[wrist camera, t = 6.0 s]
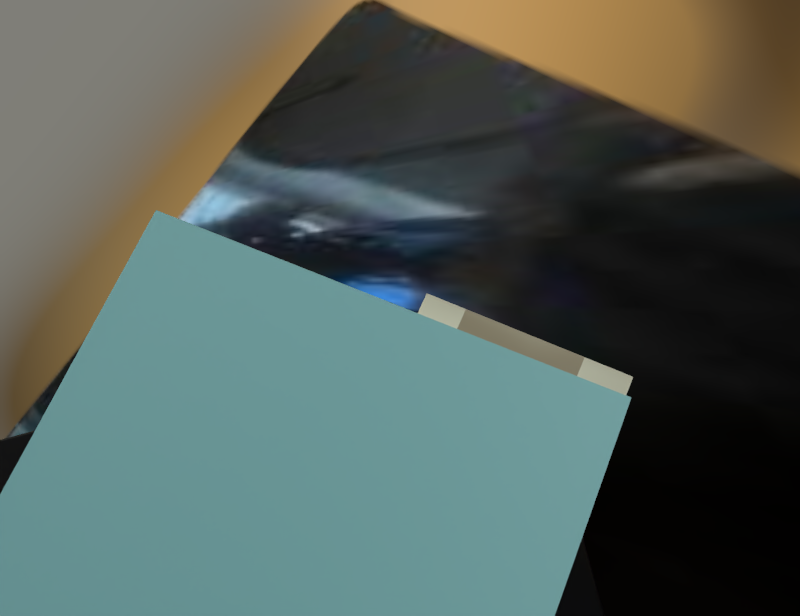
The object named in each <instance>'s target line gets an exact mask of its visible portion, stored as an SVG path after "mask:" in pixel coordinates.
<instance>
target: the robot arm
mask: <svg viewBox="0 0 800 616" xmlns="http://www.w3.org/2000/svg"><path fill="white" fill-rule="evenodd" d="M34 432H35V431H32V432H29V433H25V434H21V435H17V436H14V437H10V438H6V439H2V440H0V494H1V492H2V490H3V488H4V486H5V485H6V483H7V481H8V479H9V477H10V475H11V474H12V472H13V470H14V468H15V466H16V465H17V463H18V461H19V459H20V457H21V455H22V454H23V452H24V450H25V448H26V446H27V444H28V443H29V441H30V439H31V437H32V435H33V434H34ZM555 616H605V613H604V609H603V606H602V602H601V599H600V595H599V592H598V588H597V585H596V581H595V578H594V574H593V571H592V567H591V563H590V560H589V556H588V553H587V549H586V546H585V542H584V539H583V537H582V540H581V542H580V545H579V548H578V551H577V554H576V557H575V560H574V562H573V565H572V568H571V571H570V574H569V577H568V579H567V582H566V585H565V588H564V591H563V594H562V597H561V599H560V602H559V605H558V608H557V611H556V614H555Z"/></svg>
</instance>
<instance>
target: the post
mask: <svg viewBox="0 0 800 616" xmlns="http://www.w3.org/2000/svg"><path fill="white" fill-rule="evenodd" d="M630 400H631V397H629V396H626V395H623V394H621V393H618V392H616V391H613V390H611V389H608V388H606V387H603V386H601V385H598V384H596V383H593V382H590V381H588V380H585V379H583V378H580V377H578V376H575V375H573V374H570V373H568V372H565V371H563V370H560V369H558V368H555V367H552V366H550V365H547V364H545V363H542V362H540V361H537V360H535V359H532V358H530V357H527V356H525V355H522V354H519V353H517V352H514V351H512V350H509V349H507V348H504V347H502V346H499V345H497V344H494V343H492V342H489V341H486V340H484V339H481V338H479V337H476V336H474V335H471V334H469V333H466V332H464V331H461V330H459V329H456V328H454V327H451V326H448V325H446V324H443V323H441V322H438V321H436V320H433V319H431V318H428V317H426V316H423V315H421V314H418V313H415V312H413V311H410V310H408V309H405V308H403V307H400V306H398V305H395V304H393V303H390V302H388V301H385V300H382V299H380V298H377V297H375V296H372V295H370V294H367V293H365V292H362V291H360V290H357V289H355V288H352V287H349V286H347V285H344V284H342V283H339V282H337V281H334V280H332V279H329V278H327V277H324V276H322V275H319V274H317V273H314V272H311V271H309V270H306V269H304V268H301V267H299V266H296V265H294V264H291V263H289V262H286V261H284V260H281V259H278V258H276V257H273V256H271V255H268V254H266V253H263V252H261V251H258V250H256V249H253V248H251V247H248V246H245V245H243V244H240V243H238V242H235V241H233V240H230V239H228V238H225V237H223V236H220V235H218V234H215V233H213V232H210V231H207V230H205V229H202V228H200V227H197V226H195V225H192V224H190V223H187V222H185V221H182V220H180V219H177V218H174V217H172V216H169V215H167V214H164V213H162V212H159V211H157V210H156V211H155V213H154V215H153V217H152V219H151V220H150V222H149V224H148V226H147V228H146V230H145V231H144V233H143V235H142V237H141V239H140V240H139V243H138V244H137V246H136V248H135V250H134V251H133V253H132V255H131V257H130V259H129V261H128V262H127V264H126V266H125V268H124V270H123V272H122V273H121V275H120V277H119V279H118V281H117V282H116V284H115V286H114V288H113V290H112V291H111V293H110V295H109V297H108V299H107V301H106V302H105V305H104V306H103V308H102V310H101V311H100V314H99V315H98V317H97V319H96V321H95V323H94V324H93V326H92V328H91V330H90V332H89V333H88V335H87V337H86V339H85V341H84V342H83V344H82V346H81V348H80V350H79V352H78V353H77V355H76V357H75V359H74V361H73V362H72V364H71V366H70V368H69V370H68V372H67V373H66V375H65V377H64V379H63V381H62V383H61V384H60V386H59V388H58V390H57V392H56V393H55V395H54V397H53V399H52V401H51V403H50V404H49V406H48V408H47V410H46V412H45V414H44V415H43V417H42V419H41V421H40V423H39V424H38V426H37V428H36V430H35V432H34V434H33V435H32V437H31V439H30V441H29V443H28V444H27V446H26V448H25V450H24V452H23V454H22V455H21V457H20V459H19V461H18V463H17V465H16V466H15V468H14V470H13V472H12V474H11V475H10V477H9V479H8V481H7V483H6V485H5V486H4V488H3V490H2V492H1V494H0V616H555V614H556V611H557V608H558V605H559V602H560V599H561V597H562V594H563V591H564V588H565V585H566V582H567V579H568V577H569V574H570V571H571V568H572V565H573V562H574V560H575V557H576V554H577V551H578V548H579V545H580V542H581V540H582V537H583V534H584V531H585V528H586V525H587V523H588V520H589V517H590V514H591V511H592V508H593V505H594V503H595V500H596V497H597V494H598V491H599V488H600V485H601V483H602V480H603V477H604V474H605V471H606V468H607V466H608V463H609V460H610V457H611V454H612V451H613V448H614V446H615V443H616V440H617V437H618V434H619V431H620V429H621V426H622V423H623V420H624V417H625V414H626V411H627V409H628V406H629V403H630Z"/></svg>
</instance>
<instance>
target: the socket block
mask: <svg viewBox="0 0 800 616" xmlns="http://www.w3.org/2000/svg"><path fill="white" fill-rule="evenodd" d="M418 314H421V315H423V316H426V317H428V318H431V319H433V320H436V321H438V322H441V323H443V324H446V325H448V326H451V327H454V328H456V329H459V330H461V331H464V332H466V333H469V334H471V335H474V336H476V337H479V338H481V339H484V340H486V341H489V342H492V343H494V344H497V345H499V346H502V347H504V348H507V349H509V350H512V351H514V352H517V353H519V354H522V355H525V356H527V357H530V358H532V359H535V360H537V361H540V362H542V363H545V364H547V365H550V366H552V367H555V368H558V369H560V370H563V371H565V372H568V373H570V374H573V375H575V376H578V377H580V378H583V379H585V380H588V381H590V382H593V383H596V384H598V385H601V386H603V387H606V388H608V389H611V390H613V391H616V392H618V393H621V394H623V395H626V394H627V392H628V389H629V386H630V384H631V381H632V379H633V377H632V376H629V375H627V374H624V373H622V372H620V371H617V370H615V369H612V368H610V367H607V366H605V365H602V364H600V363H597V362H595V361H592V360H590V359H587V358H585V357H583V356H580V355H578V354H575V353H573V352H570V351H568V350H565V349H563V348H560V347H558V346H555V345H553V344H550V343H548V342H545V341H543V340H541V339H538V338H536V337H533V336H531V335H528V334H526V333H523V332H521V331H518V330H516V329H513V328H511V327H508V326H506V325H504V324H501V323H499V322H496V321H494V320H491V319H489V318H486V317H484V316H481V315H479V314H476V313H474V312H471V311H469V310H466V309H464V308H462V307H459V306H457V305H454V304H452V303H449V302H447V301H444V300H442V299H439V298H437V297H434V296H432V295H429V294H426V296H425V299H424V301H423V303H422V305H421V307H420V309H419V312H418Z"/></svg>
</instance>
